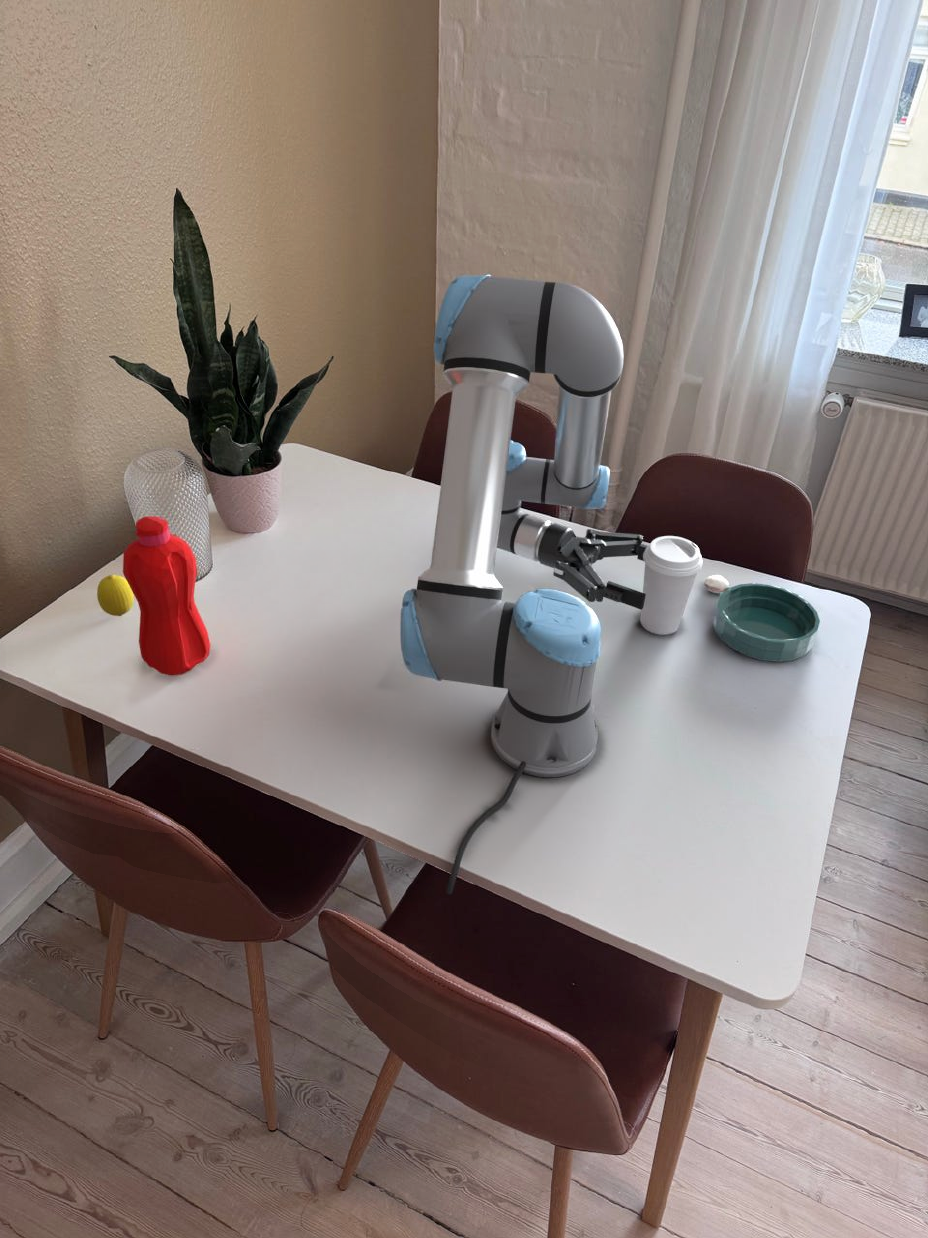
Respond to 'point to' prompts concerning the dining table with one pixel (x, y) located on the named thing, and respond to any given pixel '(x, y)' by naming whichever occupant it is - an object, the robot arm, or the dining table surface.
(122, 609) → the lemon
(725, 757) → the dining table surface
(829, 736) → the dining table surface
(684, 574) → the coffee cup
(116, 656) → the dining table surface
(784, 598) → the bowl
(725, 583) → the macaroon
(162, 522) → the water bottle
